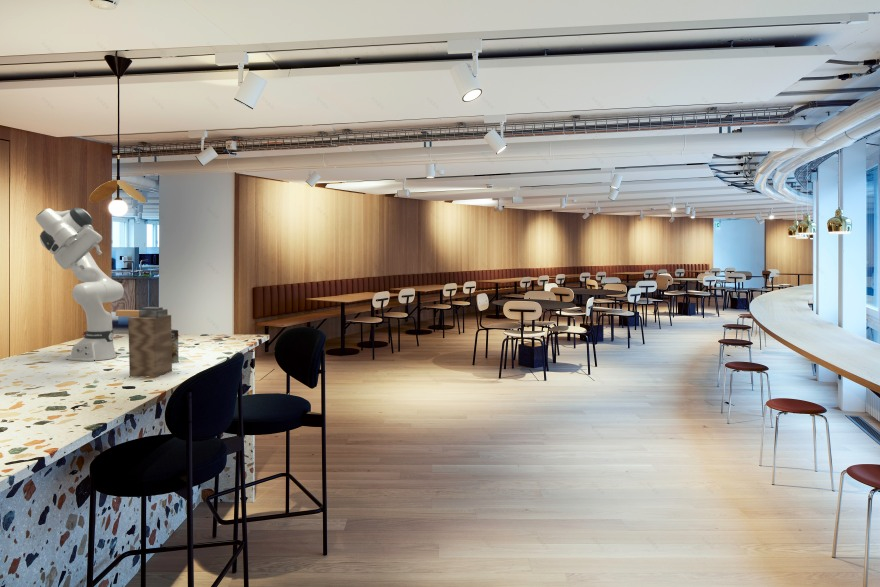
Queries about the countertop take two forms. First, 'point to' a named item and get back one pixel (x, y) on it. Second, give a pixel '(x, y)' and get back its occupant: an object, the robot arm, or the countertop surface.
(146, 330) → the stand
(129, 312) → the handled tool
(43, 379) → the countertop surface
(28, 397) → the countertop surface
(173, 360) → the coffee box
